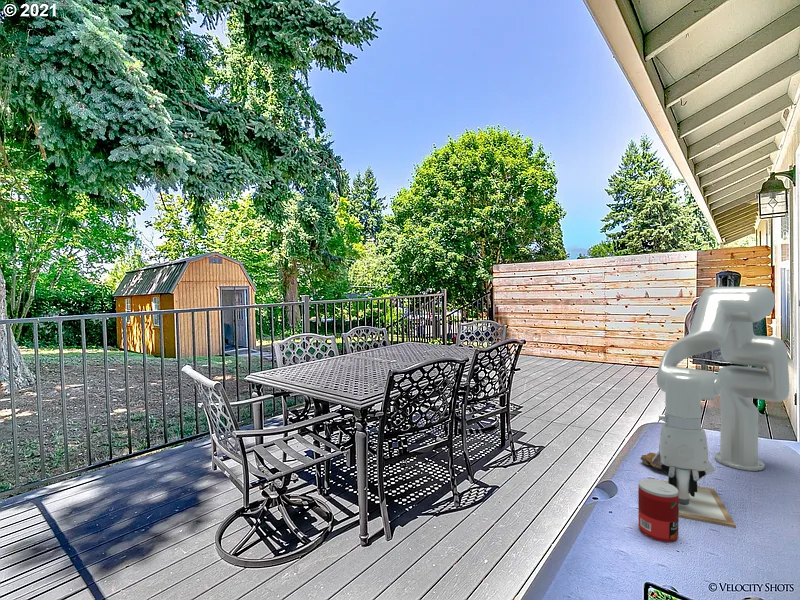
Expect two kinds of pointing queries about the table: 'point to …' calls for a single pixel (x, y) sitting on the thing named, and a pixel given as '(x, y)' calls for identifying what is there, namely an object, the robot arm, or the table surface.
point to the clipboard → (706, 508)
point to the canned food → (658, 510)
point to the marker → (683, 485)
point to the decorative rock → (648, 461)
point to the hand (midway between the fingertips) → (682, 491)
